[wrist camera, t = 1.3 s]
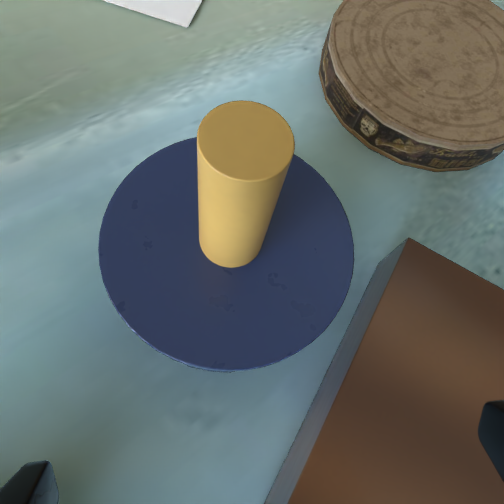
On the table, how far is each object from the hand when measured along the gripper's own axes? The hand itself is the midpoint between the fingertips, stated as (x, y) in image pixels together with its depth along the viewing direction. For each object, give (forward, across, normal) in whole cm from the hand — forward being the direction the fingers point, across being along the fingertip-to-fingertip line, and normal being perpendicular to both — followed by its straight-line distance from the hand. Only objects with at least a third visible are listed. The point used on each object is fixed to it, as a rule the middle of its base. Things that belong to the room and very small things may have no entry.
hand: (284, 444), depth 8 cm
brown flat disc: (+25, -17, -7) cm, 31 cm away
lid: (+11, 0, 0) cm, 11 cm away
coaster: (+32, +3, -15) cm, 36 cm away
